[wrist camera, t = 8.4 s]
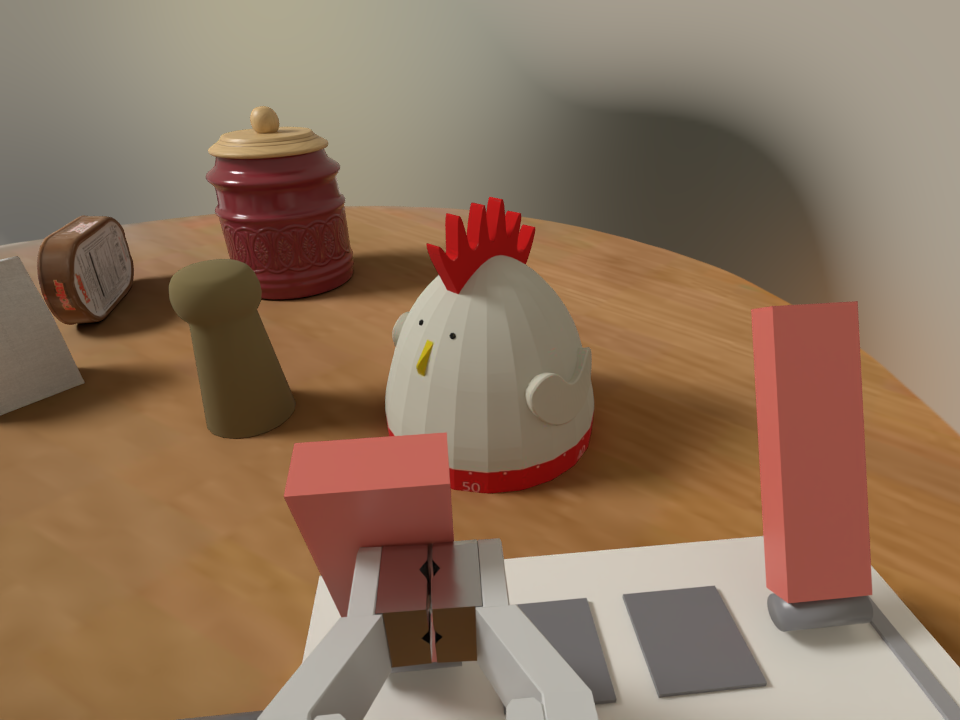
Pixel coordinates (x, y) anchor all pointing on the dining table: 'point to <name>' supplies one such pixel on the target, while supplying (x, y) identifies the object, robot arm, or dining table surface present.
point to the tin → (85, 269)
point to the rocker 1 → (370, 504)
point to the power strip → (686, 645)
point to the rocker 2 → (812, 465)
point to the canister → (282, 207)
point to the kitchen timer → (492, 361)
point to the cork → (231, 348)
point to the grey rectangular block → (29, 343)
